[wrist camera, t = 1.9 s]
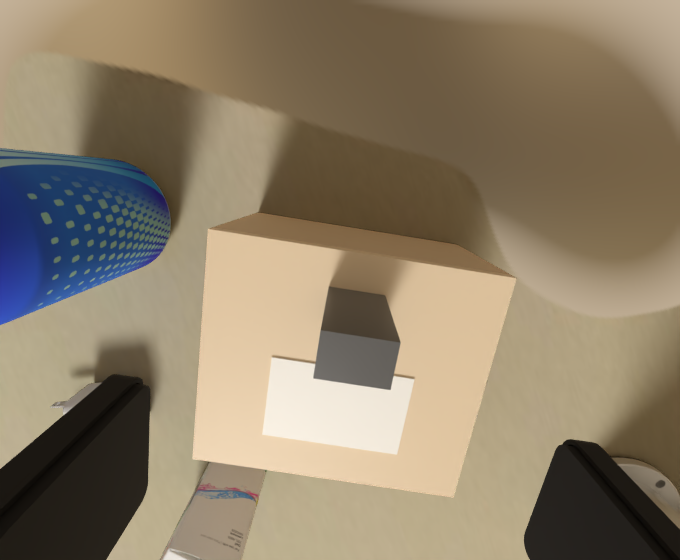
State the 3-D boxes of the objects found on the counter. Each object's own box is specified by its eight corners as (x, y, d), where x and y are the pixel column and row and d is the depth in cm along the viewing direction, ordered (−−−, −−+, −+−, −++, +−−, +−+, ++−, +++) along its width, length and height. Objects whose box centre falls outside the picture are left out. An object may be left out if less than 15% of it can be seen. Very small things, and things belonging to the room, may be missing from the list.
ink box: (226, 428, 35) (165, 548, 23) (274, 449, 35) (238, 578, 24) (191, 494, 37) (120, 635, 25) (237, 514, 37) (188, 661, 26)
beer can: (168, 279, 31) (-11, 375, 16) (67, 249, 31) (-221, 318, 15) (187, 179, 29) (2, 174, 13) (79, 145, 28) (-240, 101, 13)
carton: (456, 244, 30) (509, 274, 20) (420, 397, 33) (449, 485, 24) (258, 212, 29) (214, 226, 20) (242, 370, 33) (198, 448, 23)
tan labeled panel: (510, 274, 20) (589, 319, 13) (449, 487, 24) (489, 605, 17) (213, 227, 20) (145, 249, 13) (197, 449, 23) (138, 555, 17)
